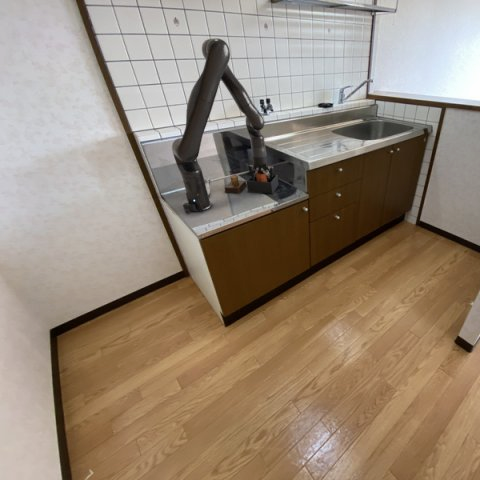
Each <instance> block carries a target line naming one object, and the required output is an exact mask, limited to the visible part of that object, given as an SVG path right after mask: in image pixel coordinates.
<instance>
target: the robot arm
mask: <svg viewBox="0 0 480 480" xmlns="http://www.w3.org/2000/svg"><path fill="white" fill-rule="evenodd" d="M201 53H202V56H203V58H204V59H205V63H204V66H203V70H202V72H201V73H200V75H199V77H198V79H197V80H196V82H194V85H193V86H192V89H191V91H190V94H189V97H188V100H187V103H186V110H185V111H186V113H185V127H184V131H183V134H182V137H179V138H176V139H175V140H173V142H172V144H171V151H172V154H173V158H174V161H175V163H176V167H177V169H178V172H179V173H180V176H181V179H182V183H183V186H184V189H185V196H186V199H187V200H186V201H187V202H184V203H183V204H182V207H183V209H184V212H185V213H186V214H188V213H189V211H190V212H191V211H192V212H201V213H202V212H205V211H207V210H209V209H210V208H211V207H212V204H211V201H210V196H209V195H208V193H207V189H206V185H205V181H204V179H205V177H204V173H203V170H202V167H201V165H200V163H199V162H198V157H199V154H200V149H201V146H202V145H201V144H202V139H203V135H204V132H205V129H206V127H207V124H208V122H209V121H208V120H209V118H210V116H211V113H212V109H213V108H214V107H213V106H214V103H215V100H216V96H217V93H218V90H219V86H220V83H221V82H222V84H223V85H224V86H225V88H226V89H227V91H228V92H229V94H230V96H231V98H232V99H233V101H234V103H235V104H236V106H237V108H238V109H239V111H240V112H241V113H242V114H243V115H244V116H245V126H246V127H245V128H246V130H247V133H248V136H249V140H250V146H251V147H250V148H251V156H252V163H253V165H252V164H249V166H247V167H248V171H249V176H250V177H252V176H253V177H254V180H255V181H257V178H256V173H257V174H258V173H262V174H265V175H266V177H267V182H271V178H272V177H273V176H274V175H275V171H274V170H275V169H274V165H271V166H270V165H269V164H268V155H267V149H266V142H265V137H264V134H262V132H261V130H262V129H264V127H265V119H264V117H263V115H262V113H261V112H260V111H259V110H258V108H257V107H256V106H255V104H254V103H253V101H252V99H251V97H250V96H249V95H250V94H248V92H247V90H246V89H245V87H244V86H243V84H242V83H241V82H240V81H239V79H238V78H237V77H236V76H235V75H234V73H233V71H232V70H231V68H230V66H229V63H230V60H231V59H230V58H231V50H230V47H229V45H228V43H227V42H226V41H225V40H223V39H221V38H216V37H214V38H207V39H205V40H204V41H203V42H202V44H201ZM254 170H255V171H254ZM254 173H255V174H254Z"/></svg>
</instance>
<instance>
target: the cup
mask: <svg viewBox="0 0 480 480" xmlns="http://www.w3.org/2000/svg"><path fill="white" fill-rule="evenodd" d="M256 178H257V181H258V182H267V177H266V175H265V174H262V173H258V174H257V173H256Z"/></svg>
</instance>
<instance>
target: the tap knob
mask: <svg viewBox="0 0 480 480" xmlns="http://www.w3.org/2000/svg"><path fill="white" fill-rule="evenodd" d="M229 178H230V182H231V183H232V185H238V184H239V181H238V180H239V177H238V175H237V174H232V175H230V176H229Z"/></svg>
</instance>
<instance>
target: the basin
mask: <svg viewBox="0 0 480 480" xmlns="http://www.w3.org/2000/svg"><path fill="white" fill-rule="evenodd" d="M254 174H255V172H254ZM245 181H246V185H247V186H246V187H247V192H248V193H256V194H267V195H268V194H270V195H272V194H274V192H275V191H276V189H277V188H278V187H279V185H280V184H279V176H278V174H274V176H273V177H272V178H271V182H258V181H255V180H254V177H253V176H252V177H251V176H250V177H249V178H248V179H247V180H245Z"/></svg>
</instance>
